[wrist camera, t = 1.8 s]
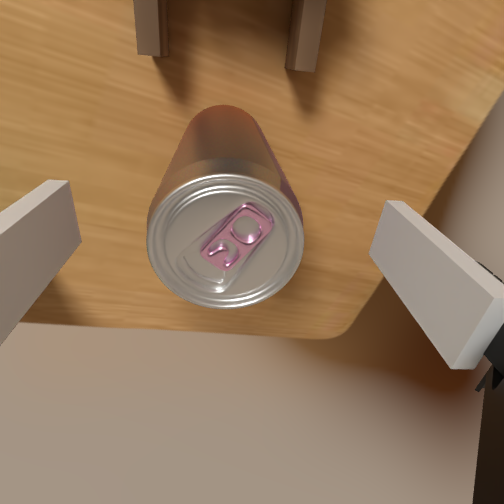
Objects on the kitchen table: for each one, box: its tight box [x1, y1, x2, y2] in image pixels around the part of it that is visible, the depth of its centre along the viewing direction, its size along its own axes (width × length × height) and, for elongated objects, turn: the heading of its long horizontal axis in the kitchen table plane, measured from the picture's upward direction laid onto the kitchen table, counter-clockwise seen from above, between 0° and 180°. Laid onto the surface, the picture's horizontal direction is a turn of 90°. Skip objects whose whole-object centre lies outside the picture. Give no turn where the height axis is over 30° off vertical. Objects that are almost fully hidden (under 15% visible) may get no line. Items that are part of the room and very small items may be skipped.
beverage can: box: [146, 105, 304, 309], centre depth 18 cm, size 6×6×15 cm
